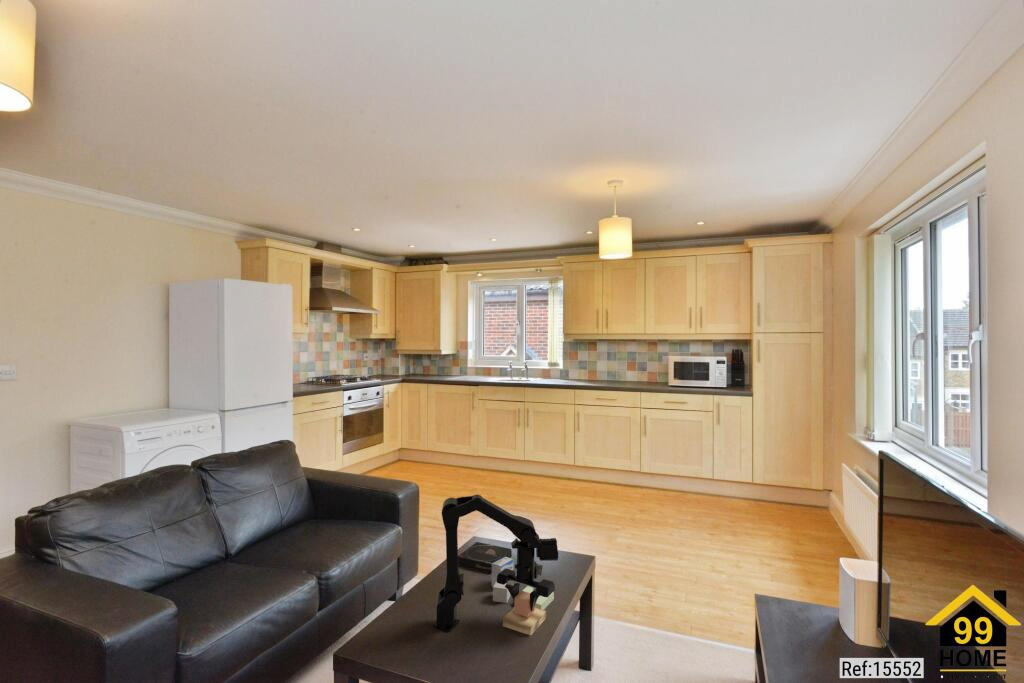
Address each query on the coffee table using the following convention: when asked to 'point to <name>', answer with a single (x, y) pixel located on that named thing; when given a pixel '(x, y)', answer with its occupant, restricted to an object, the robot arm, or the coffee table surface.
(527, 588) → the green slab
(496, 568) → the medicine box
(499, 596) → the grey block
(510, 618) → the oak slab
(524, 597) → the terracotta block
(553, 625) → the coffee table surface
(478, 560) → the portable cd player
